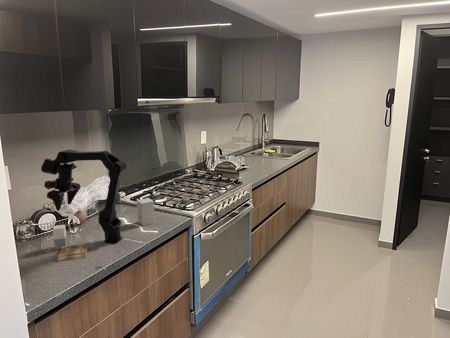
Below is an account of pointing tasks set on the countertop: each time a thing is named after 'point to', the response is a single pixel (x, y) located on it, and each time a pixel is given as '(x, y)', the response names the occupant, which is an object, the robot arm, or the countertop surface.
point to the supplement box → (145, 211)
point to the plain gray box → (59, 236)
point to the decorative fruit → (81, 215)
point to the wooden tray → (73, 252)
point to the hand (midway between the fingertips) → (63, 207)
